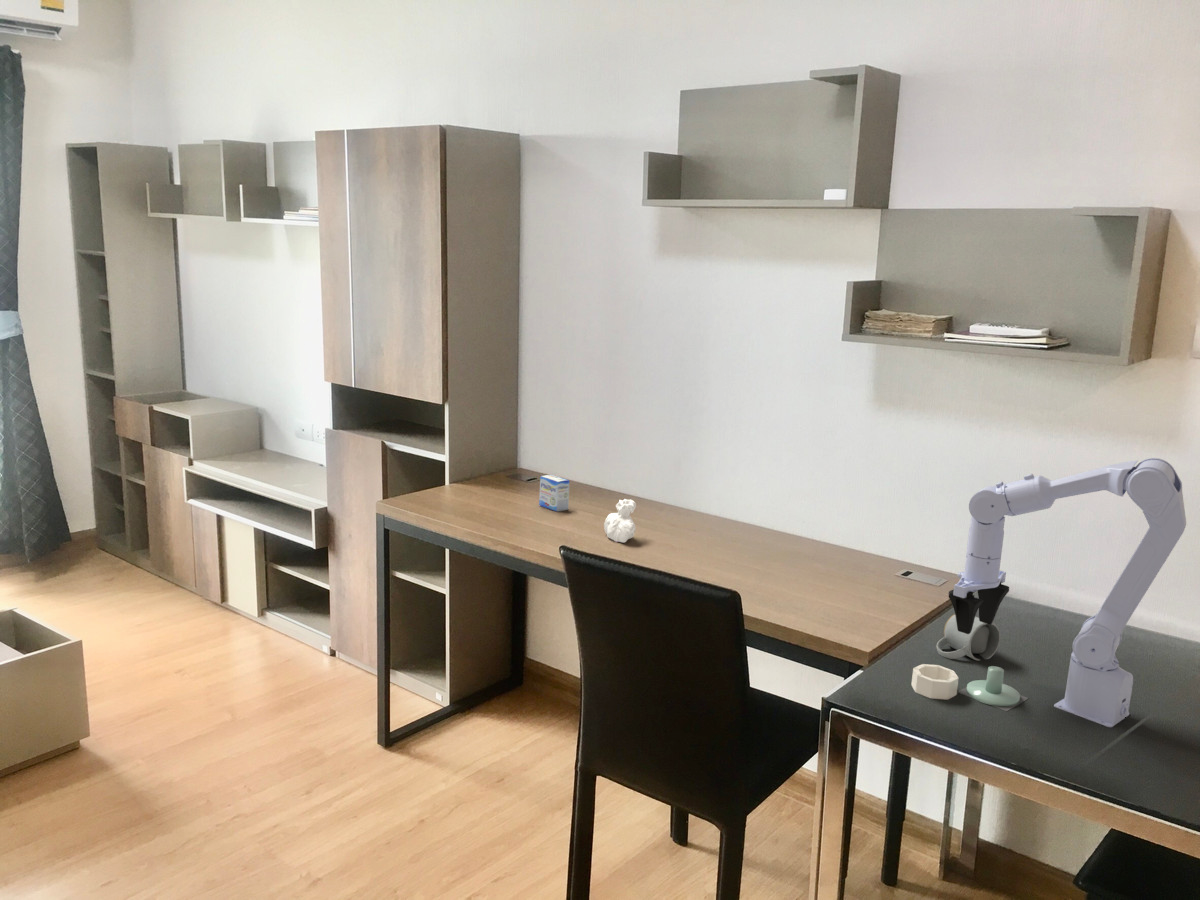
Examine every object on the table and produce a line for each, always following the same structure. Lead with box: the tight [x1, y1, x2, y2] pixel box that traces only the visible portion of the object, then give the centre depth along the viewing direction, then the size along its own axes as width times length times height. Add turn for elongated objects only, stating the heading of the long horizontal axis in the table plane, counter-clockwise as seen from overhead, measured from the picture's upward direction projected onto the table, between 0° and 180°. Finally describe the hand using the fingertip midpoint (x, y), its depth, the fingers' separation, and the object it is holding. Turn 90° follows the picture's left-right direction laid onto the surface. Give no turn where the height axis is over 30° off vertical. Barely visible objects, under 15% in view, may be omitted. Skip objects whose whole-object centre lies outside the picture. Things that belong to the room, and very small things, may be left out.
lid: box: [966, 665, 1021, 707], centre depth 173 cm, size 9×9×5 cm
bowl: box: [910, 663, 959, 700], centre depth 174 cm, size 7×7×4 cm
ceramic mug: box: [936, 613, 1001, 661], centre depth 190 cm, size 11×8×8 cm
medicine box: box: [538, 474, 570, 512], centre depth 280 cm, size 8×4×9 cm, turn 43°
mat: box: [957, 686, 1029, 712], centre depth 173 cm, size 9×8×1 cm
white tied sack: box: [603, 498, 637, 543], centre depth 254 cm, size 12×8×11 cm
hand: (974, 627), depth 178 cm, fingers open, 7 cm apart
